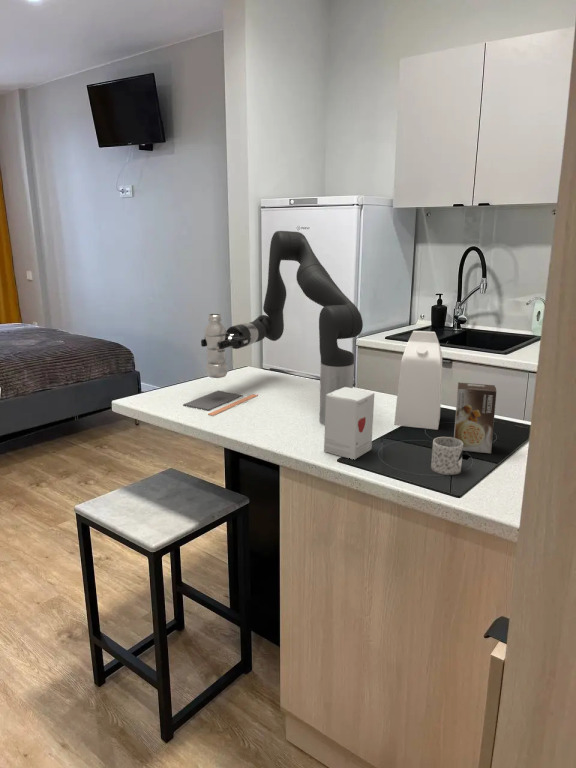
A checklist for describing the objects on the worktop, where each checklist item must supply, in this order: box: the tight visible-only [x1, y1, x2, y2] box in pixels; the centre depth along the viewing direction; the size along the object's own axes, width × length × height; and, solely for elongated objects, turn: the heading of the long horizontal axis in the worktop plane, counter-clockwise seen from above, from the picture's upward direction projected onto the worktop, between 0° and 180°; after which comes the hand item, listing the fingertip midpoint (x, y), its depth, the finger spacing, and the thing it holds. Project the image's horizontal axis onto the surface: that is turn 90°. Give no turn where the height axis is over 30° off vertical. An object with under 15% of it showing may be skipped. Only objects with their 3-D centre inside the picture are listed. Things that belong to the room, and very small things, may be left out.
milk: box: [393, 330, 443, 430], centre depth 157 cm, size 12×12×26 cm
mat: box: [182, 390, 244, 412], centre depth 177 cm, size 10×18×1 cm, turn 150°
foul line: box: [207, 393, 259, 417], centre depth 174 cm, size 2×24×1 cm, turn 150°
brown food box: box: [453, 382, 497, 454], centre depth 138 cm, size 9×6×16 cm
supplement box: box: [323, 387, 375, 461], centre depth 136 cm, size 9×9×15 cm
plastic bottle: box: [204, 313, 229, 379], centre depth 173 cm, size 6×7×20 cm
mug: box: [430, 436, 463, 476], centre depth 129 cm, size 10×7×7 cm
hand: (210, 344), depth 170 cm, fingers closed on plastic bottle, 6 cm apart
